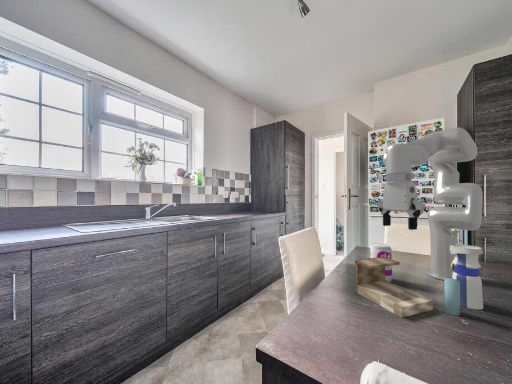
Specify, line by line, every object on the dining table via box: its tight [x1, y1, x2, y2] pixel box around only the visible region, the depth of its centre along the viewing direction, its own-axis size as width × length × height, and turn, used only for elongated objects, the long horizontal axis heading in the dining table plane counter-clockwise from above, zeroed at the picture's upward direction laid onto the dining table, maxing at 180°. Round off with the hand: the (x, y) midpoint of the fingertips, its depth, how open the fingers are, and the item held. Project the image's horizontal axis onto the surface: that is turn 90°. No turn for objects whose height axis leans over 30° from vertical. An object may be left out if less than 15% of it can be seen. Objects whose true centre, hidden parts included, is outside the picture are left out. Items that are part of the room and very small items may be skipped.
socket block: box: [354, 257, 434, 319], centre depth 75 cm, size 14×18×12 cm
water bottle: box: [450, 228, 484, 310], centre depth 72 cm, size 8×8×25 cm
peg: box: [443, 278, 461, 316], centre depth 67 cm, size 4×4×10 cm
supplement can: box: [369, 242, 393, 283], centre depth 93 cm, size 8×8×15 cm
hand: (398, 227), depth 75 cm, fingers open, 9 cm apart
